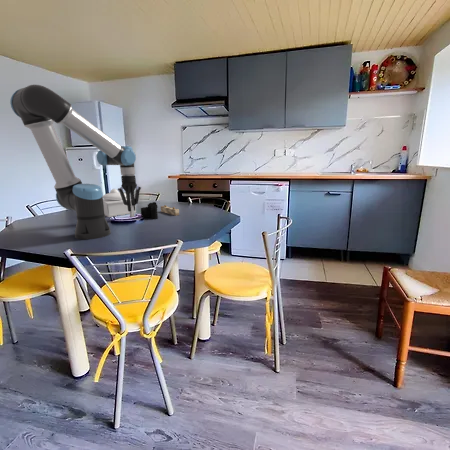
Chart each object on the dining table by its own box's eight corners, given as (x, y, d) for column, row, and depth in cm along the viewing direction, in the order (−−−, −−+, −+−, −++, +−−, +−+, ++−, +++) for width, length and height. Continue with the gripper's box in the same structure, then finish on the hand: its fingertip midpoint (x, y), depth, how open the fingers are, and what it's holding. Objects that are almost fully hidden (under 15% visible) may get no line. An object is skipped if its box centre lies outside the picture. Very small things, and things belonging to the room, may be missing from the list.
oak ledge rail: (179, 215, 173) (178, 207, 171) (175, 215, 171) (175, 208, 170) (164, 211, 186) (163, 204, 185) (161, 211, 184) (160, 204, 183)
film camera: (141, 215, 174) (140, 201, 171) (157, 214, 176) (156, 200, 174) (141, 220, 159) (140, 205, 157) (158, 219, 162) (157, 204, 160)
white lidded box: (125, 209, 194) (123, 186, 190) (136, 213, 181) (134, 188, 177) (99, 213, 183) (96, 188, 179) (108, 217, 170) (105, 191, 166)
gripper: (136, 174, 163) (140, 213, 169) (113, 175, 155) (118, 217, 161) (142, 174, 158) (145, 215, 164) (119, 176, 150) (123, 219, 155)
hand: (132, 216), depth 162 cm, fingers closed
